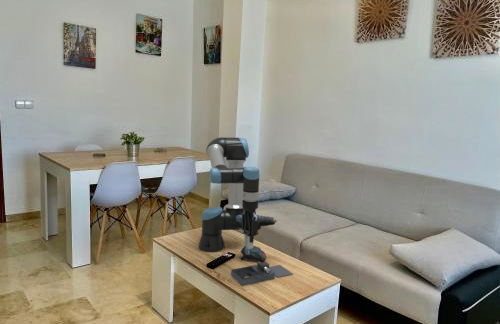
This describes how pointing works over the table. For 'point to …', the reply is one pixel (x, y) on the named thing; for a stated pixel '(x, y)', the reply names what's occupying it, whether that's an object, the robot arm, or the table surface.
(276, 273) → the rubber mat
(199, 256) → the table surface
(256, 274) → the plate
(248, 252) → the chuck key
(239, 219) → the power drill
